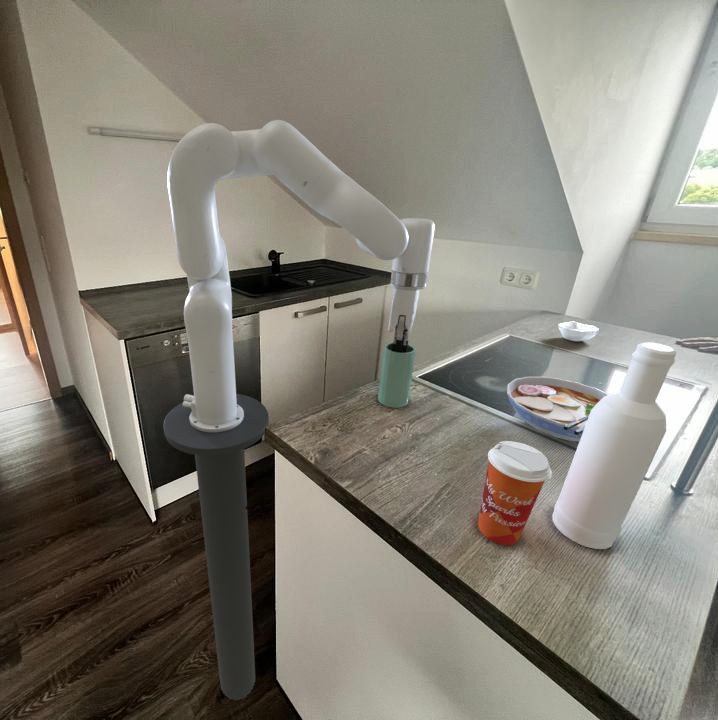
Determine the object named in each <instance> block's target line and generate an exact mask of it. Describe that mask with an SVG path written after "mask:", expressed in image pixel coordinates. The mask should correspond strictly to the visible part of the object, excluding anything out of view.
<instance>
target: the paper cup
mask: <svg viewBox="0 0 718 720" xmlns="http://www.w3.org/2000/svg"><path fill="white" fill-rule="evenodd" d="M487 458H488V464H487V469H486V473H485V479H484V480H485V481H484V486H483V492H482V497H481V503H480V509H479V513H478V514H479V515H478V521H477V525H478V529H479V531H480V533H481V534H482V535H483V536H484V537H485V538H487V539H488V540H490V541H491V542H492V543H495V544H498V545H500V546H501V545H502V546H511V545H514V544H517V542H518V541H519V539H520V538H521V535H522V534H523V531H524V529H525V527H526V524H527V522H528V520H529V517H530V515H531V513H532V511H533V509H534V506H535V504H536V503H537V500H538V497H539V495H540V493H541V491H542V488H543V486H544V484H545V482H546V481H547V480H550V479H551V478H552V477H553V471H552V470H551V465H550V463H549V460H548V458H547V457H546V455H545V454H544V453H542V452H541V451H539V450H538V449H536V448H535V447H533V446H532V445H528V444H526V443H523V442H519V441H512V440H504V441H500V442H498V443H497V444H496V445H495V446H493V447H492V448H491V449H489V451H488V453H487Z"/></svg>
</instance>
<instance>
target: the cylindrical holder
mask: <svg viewBox="0 0 718 720" xmlns="http://www.w3.org/2000/svg"><path fill="white" fill-rule="evenodd" d="M393 342H394V341H393ZM393 342H387V343H385V344H384V345H383V348H382V358H381V366H380V367H381V368H380V376H379V385H378V392H377V393H378V394H377V395H378V396H377V401H378V402H379V403H380V404H381V405H382V406H385V407H388V408H393V409H399V408H400V409H401V408H405V407H406V406H407V405H408V404H409V400H410V391H411V386H412V379H413V372H414V365H415V358H416V353H417V348H416V346H414V345H412V344H410V343H408V347H407V353H399V352H394V351H392V344H393Z"/></svg>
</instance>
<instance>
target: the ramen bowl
mask: <svg viewBox="0 0 718 720" xmlns="http://www.w3.org/2000/svg"><path fill="white" fill-rule="evenodd" d="M506 394H507V396H508V400H509V402H510V404H511V406H512V408H513V409H514V411H515V412H516V413H517V415H518V416H519V417H520V418H521V419H522V420H523V421H524V422H525V423H527V424H528V425H529V426H531V427H532V428H534V429H536V430H538V431H539V432H541V433H543V434H546V435H548V436H551V437H554V438H557V439H561V440H565V441H570V442H575V443H576V442H577V443H579V442H580V439H581V436H582V434H583V431H584V428H585V425H586V423H587V420H588V417H589V415H590V412H591V410H592V409H593V407H594V406H595V405H596V404H597V403H598V402H599V401H600V400H601V399H602V398H603V397H604V396H607V395H610V394H611V393H608V392H606V391H603V390H601V389H599V388H596V387H594V386H593V387H592V386H590V385H586V384H583V383H580V382H576V381H573V380H568V379H563V378H556V377H551V376H523V377H518V378H515V379H512V381H510V382H509V383H507V386H506Z"/></svg>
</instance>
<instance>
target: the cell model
mask: <svg viewBox="0 0 718 720" xmlns="http://www.w3.org/2000/svg"><path fill="white" fill-rule="evenodd" d="M557 326H558V330H559V332H560V334H561V336H562V338H564V339H566V340H568V341H571V342H583V341H589V340H591V339H592V338H594V337H596V336H597V334H598V332H599V328H598V327H596V326H594V325H590V324H586V323H581V322H577V321H575V320H573V321H567V322H560V323H558V324H557Z"/></svg>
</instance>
